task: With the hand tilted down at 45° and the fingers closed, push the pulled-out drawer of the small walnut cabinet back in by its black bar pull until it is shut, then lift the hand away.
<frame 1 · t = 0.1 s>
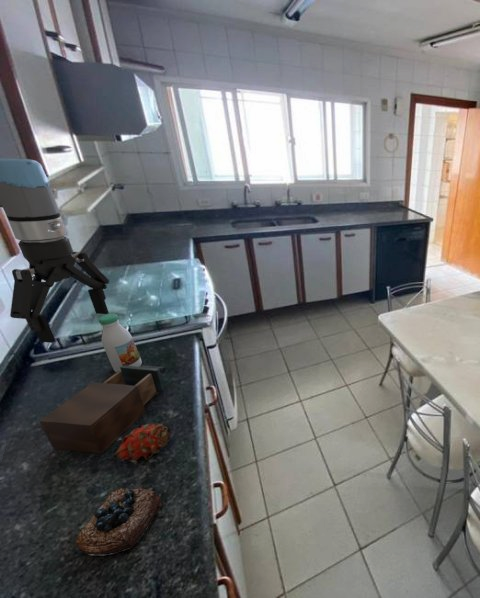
hand: (77, 326, 78), 31 cm above the table, tool pointing down, fingers open, 13 cm apart
dragon fruit: (148, 453, 84), on the table
drawer: (132, 386, 98), point 5 cm above the table, slide at 8.0 cm
pastry: (124, 525, 68), on the table
milk bottle: (129, 367, 113), on the table
cabinet: (103, 429, 89), on the table
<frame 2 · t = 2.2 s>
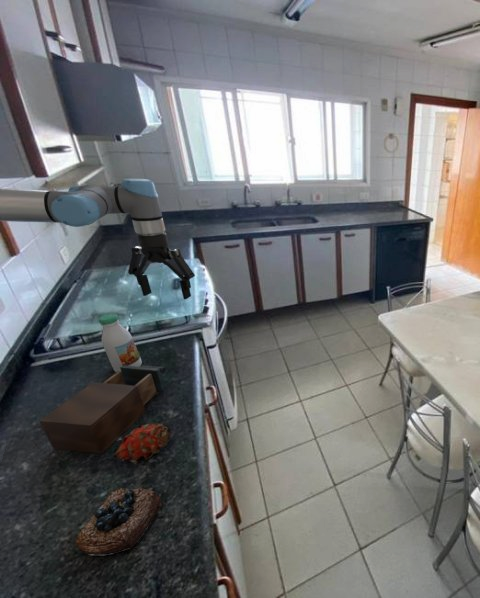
hand: (167, 296, 109), 25 cm above the table, tool pointing down, fingers open, 13 cm apart
nothing on the table moved.
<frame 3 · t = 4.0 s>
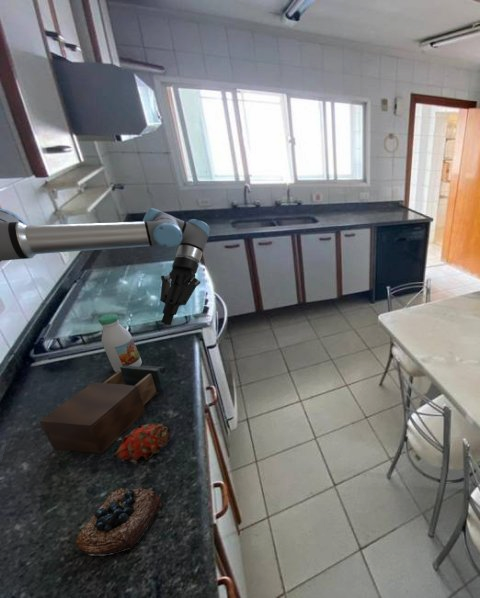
hand: (165, 323, 109), 17 cm above the table, tool tilted 45°, fingers closed
nothing on the table moved.
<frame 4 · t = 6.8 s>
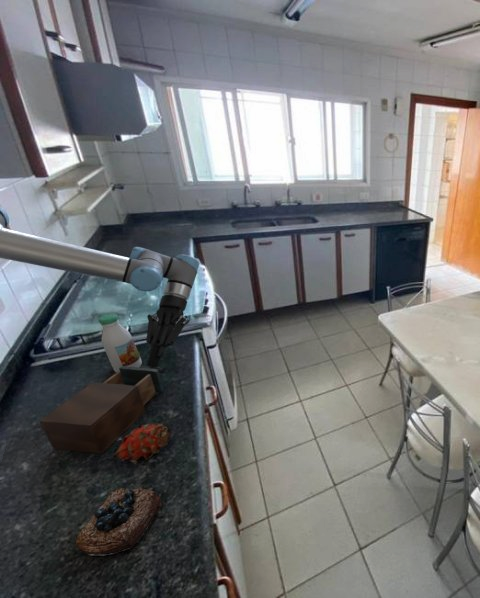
hand: (151, 366, 105), 6 cm above the table, tool tilted 45°, fingers closed
drawer: (131, 387, 98), point 5 cm above the table, slide at 7.6 cm, touching gripper
everything else where it was.
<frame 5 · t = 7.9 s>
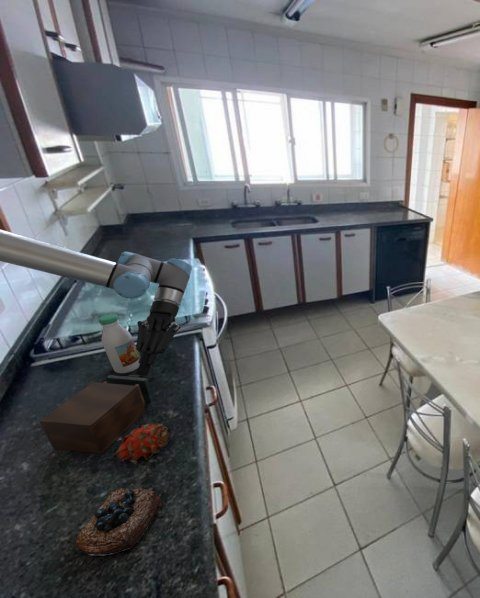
hand: (141, 374, 101), 6 cm above the table, tool tilted 45°, fingers closed
drawer: (119, 397, 94), point 5 cm above the table, slide at 3.2 cm, touching gripper
everything else where it was.
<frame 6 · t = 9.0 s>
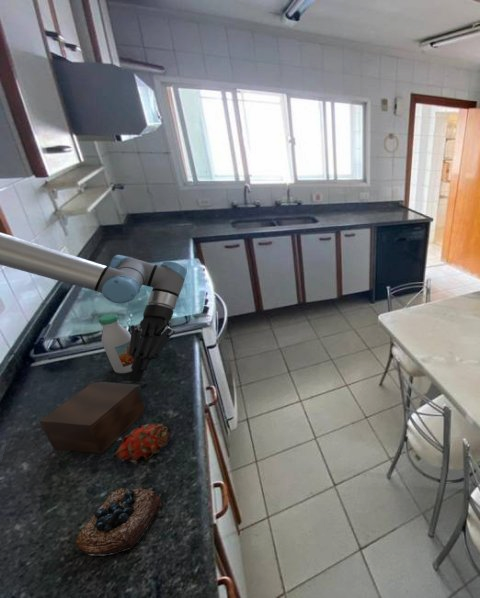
hand: (134, 381, 98), 6 cm above the table, tool tilted 45°, fingers closed
drawer: (110, 405, 91), point 5 cm above the table, slide at 0.2 cm, touching gripper
everything else where it was.
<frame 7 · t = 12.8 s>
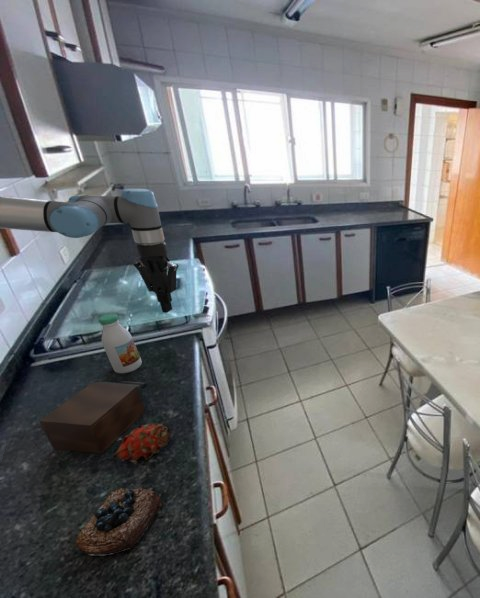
hand: (167, 310, 110), 20 cm above the table, tool pointing down, fingers closed
drawer: (110, 405, 91), point 5 cm above the table, slide at 0.2 cm
everything else where it was.
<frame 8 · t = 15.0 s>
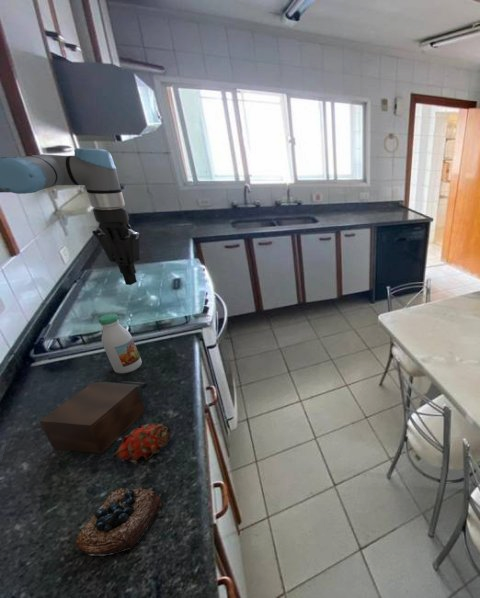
hand: (131, 283, 104), 30 cm above the table, tool pointing down, fingers closed
nothing on the table moved.
at the end: drawer slide at 0.2 cm; milk bottle moved 0.1 cm from its start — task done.
